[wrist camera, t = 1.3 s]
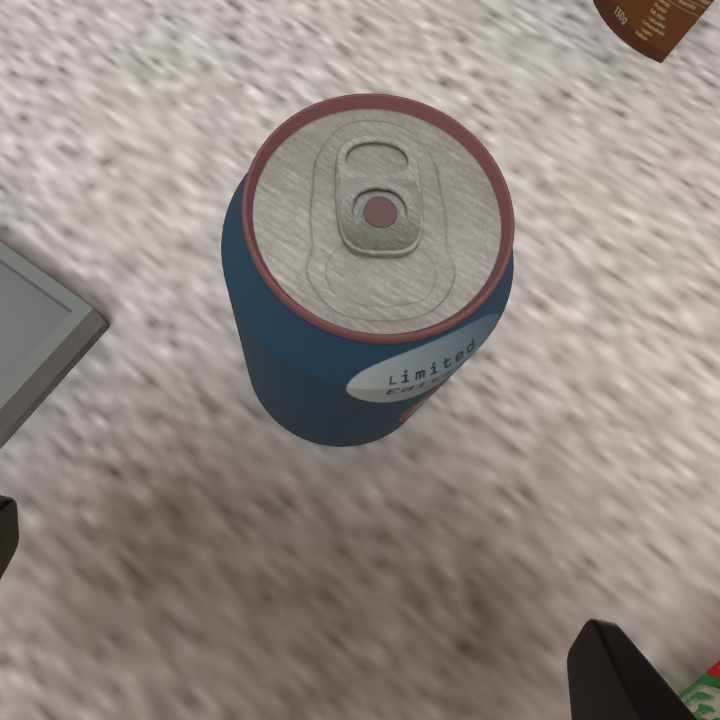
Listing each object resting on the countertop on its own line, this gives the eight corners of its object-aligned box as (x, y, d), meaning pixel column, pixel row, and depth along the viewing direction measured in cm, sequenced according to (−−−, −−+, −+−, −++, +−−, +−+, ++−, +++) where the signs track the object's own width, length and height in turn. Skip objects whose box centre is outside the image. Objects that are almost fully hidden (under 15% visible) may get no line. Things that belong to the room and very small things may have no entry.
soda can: (430, 449, 23) (563, 368, 12) (248, 453, 23) (205, 371, 11) (418, 282, 25) (523, 75, 14) (250, 281, 25) (214, 60, 13)
